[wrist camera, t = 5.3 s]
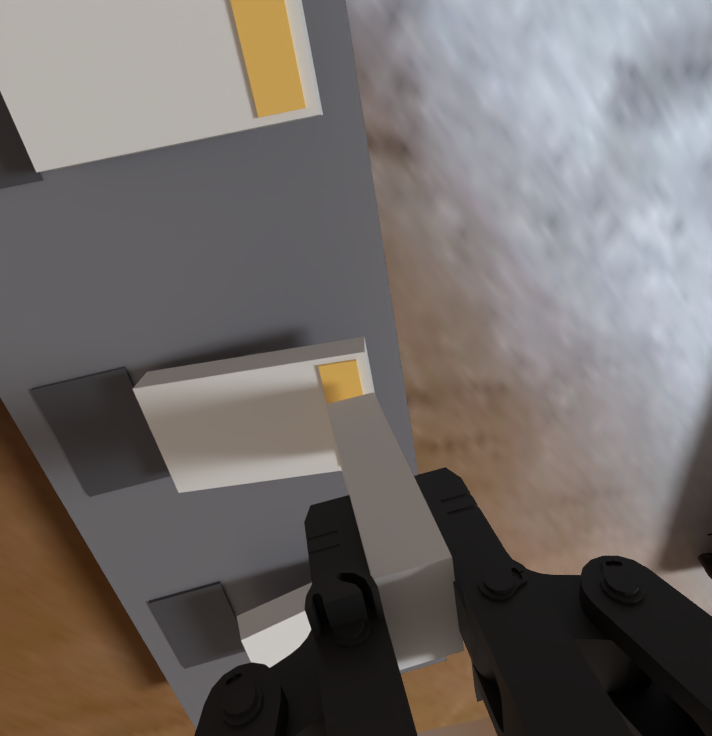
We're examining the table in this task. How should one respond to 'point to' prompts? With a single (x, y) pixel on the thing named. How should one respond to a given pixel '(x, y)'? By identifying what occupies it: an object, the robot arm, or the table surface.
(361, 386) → the rocker middle
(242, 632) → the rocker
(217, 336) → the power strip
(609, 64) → the table surface
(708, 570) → the diary
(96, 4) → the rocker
